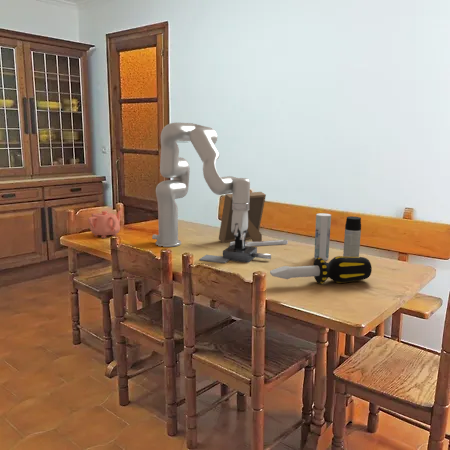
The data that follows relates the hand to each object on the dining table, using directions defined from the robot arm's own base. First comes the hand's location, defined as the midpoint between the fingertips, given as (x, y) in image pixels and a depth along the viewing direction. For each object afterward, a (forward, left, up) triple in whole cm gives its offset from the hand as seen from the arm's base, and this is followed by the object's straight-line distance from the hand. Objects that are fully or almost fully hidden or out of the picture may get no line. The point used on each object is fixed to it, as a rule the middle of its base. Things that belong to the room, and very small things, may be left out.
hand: (240, 246), depth 208 cm
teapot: (-81, +15, -5) cm, 82 cm away
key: (0, 0, -4) cm, 4 cm away
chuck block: (+4, 0, -5) cm, 6 cm away
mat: (-9, -7, -5) cm, 12 cm away
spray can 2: (+34, +13, -5) cm, 37 cm away
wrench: (+4, +24, -4) cm, 24 cm away
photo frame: (-8, +30, -5) cm, 31 cm away
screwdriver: (+40, -22, -5) cm, 46 cm away
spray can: (+47, +11, -5) cm, 49 cm away
